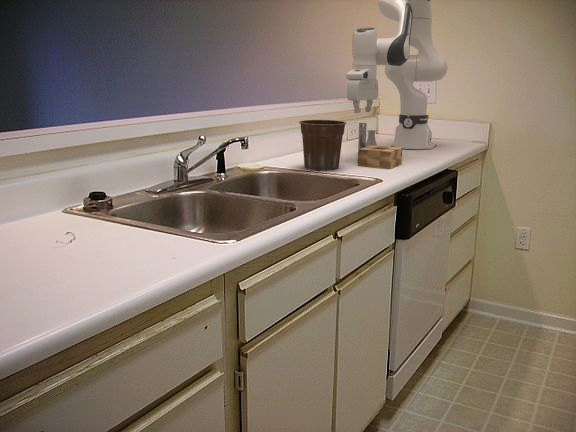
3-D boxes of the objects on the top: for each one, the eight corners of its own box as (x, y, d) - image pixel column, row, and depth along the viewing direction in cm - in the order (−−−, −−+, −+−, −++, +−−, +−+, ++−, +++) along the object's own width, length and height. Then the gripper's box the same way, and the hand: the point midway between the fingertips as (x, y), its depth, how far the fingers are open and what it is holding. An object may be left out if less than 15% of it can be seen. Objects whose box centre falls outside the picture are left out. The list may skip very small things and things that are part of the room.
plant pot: (353, 166, 202) (354, 121, 198) (330, 173, 189) (331, 125, 185) (314, 162, 211) (315, 118, 207) (290, 169, 198) (290, 122, 194)
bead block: (371, 161, 214) (371, 145, 212) (401, 163, 208) (402, 147, 206) (357, 165, 204) (358, 149, 202) (389, 168, 198) (389, 151, 196)
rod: (359, 159, 218) (360, 122, 214) (366, 160, 216) (367, 122, 213) (356, 160, 215) (357, 123, 212) (363, 161, 214) (364, 123, 210)
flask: (379, 157, 223) (380, 131, 221) (360, 156, 225) (361, 131, 222) (380, 154, 230) (381, 129, 228) (362, 153, 232) (363, 129, 229)
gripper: (367, 74, 218) (366, 110, 221) (344, 74, 201) (343, 113, 204) (383, 74, 215) (381, 111, 218) (360, 74, 198) (359, 114, 201)
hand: (362, 112), depth 211 cm, fingers open, 8 cm apart
